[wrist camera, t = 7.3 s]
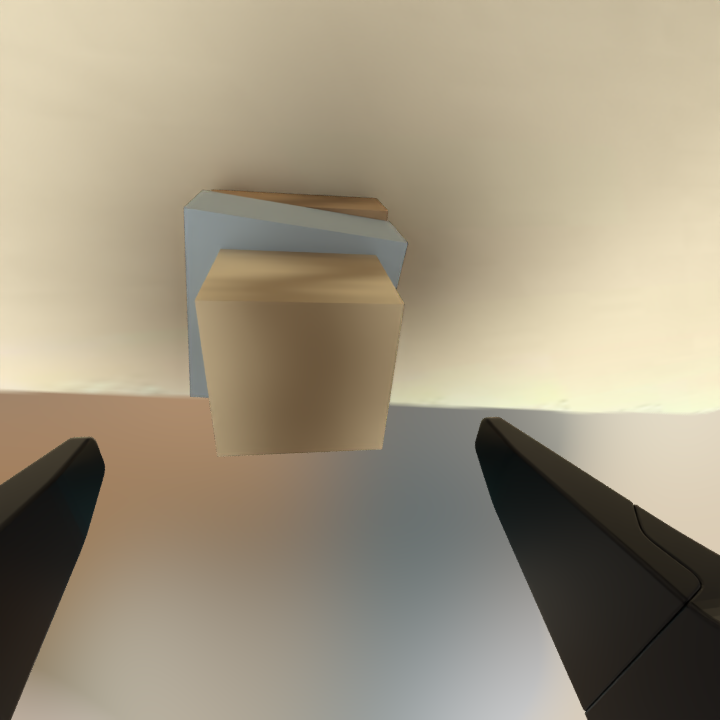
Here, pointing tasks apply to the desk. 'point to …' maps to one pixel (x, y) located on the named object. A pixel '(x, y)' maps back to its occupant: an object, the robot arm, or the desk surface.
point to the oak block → (298, 350)
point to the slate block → (271, 245)
